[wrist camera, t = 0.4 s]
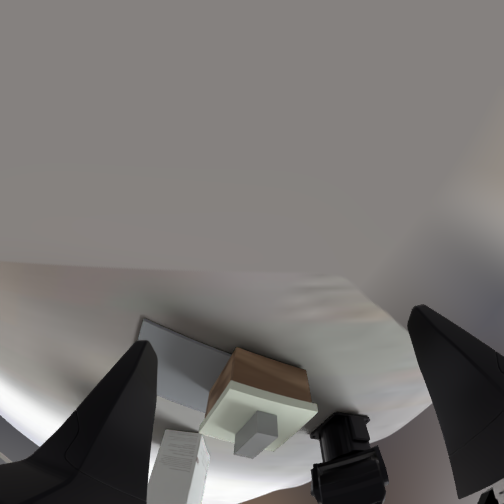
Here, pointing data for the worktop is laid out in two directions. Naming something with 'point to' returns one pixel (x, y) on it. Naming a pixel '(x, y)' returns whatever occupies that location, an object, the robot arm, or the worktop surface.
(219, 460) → the worktop surface
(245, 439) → the lid
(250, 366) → the box
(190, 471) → the skincare box
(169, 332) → the mat
